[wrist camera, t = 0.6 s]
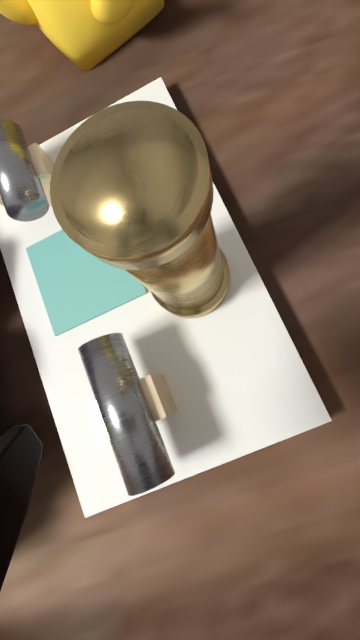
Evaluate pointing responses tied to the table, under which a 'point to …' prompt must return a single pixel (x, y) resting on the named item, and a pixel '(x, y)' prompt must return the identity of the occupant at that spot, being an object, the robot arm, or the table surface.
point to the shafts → (96, 339)
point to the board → (156, 349)
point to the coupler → (144, 203)
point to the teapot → (84, 24)
